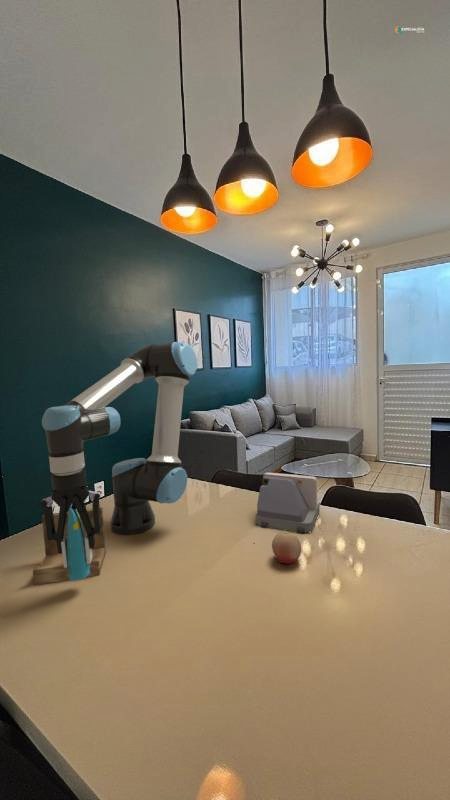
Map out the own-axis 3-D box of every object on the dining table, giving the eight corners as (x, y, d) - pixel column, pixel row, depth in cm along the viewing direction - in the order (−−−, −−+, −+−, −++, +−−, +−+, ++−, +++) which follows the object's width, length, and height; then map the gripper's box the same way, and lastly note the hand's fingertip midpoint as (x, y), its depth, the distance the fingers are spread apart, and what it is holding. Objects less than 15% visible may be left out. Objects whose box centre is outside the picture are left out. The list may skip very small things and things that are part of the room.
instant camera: (327, 514, 122) (326, 473, 121) (306, 539, 105) (305, 492, 104) (274, 503, 134) (272, 466, 133) (247, 524, 117) (245, 481, 116)
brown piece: (105, 552, 102) (102, 507, 101) (99, 574, 91) (95, 524, 90) (48, 561, 99) (43, 514, 98) (34, 584, 88) (29, 532, 86)
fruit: (304, 555, 95) (303, 528, 95) (297, 571, 88) (296, 541, 88) (276, 550, 99) (275, 524, 98) (268, 565, 92) (267, 536, 91)
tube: (91, 580, 82) (82, 503, 80) (69, 586, 80) (60, 508, 78) (88, 564, 88) (81, 493, 86) (68, 570, 86) (60, 497, 84)
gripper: (108, 462, 87) (117, 548, 89) (33, 470, 83) (44, 560, 86) (104, 470, 79) (113, 564, 82) (22, 480, 76) (34, 578, 78)
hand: (78, 562), depth 84 cm, fingers closed on tube, 5 cm apart
